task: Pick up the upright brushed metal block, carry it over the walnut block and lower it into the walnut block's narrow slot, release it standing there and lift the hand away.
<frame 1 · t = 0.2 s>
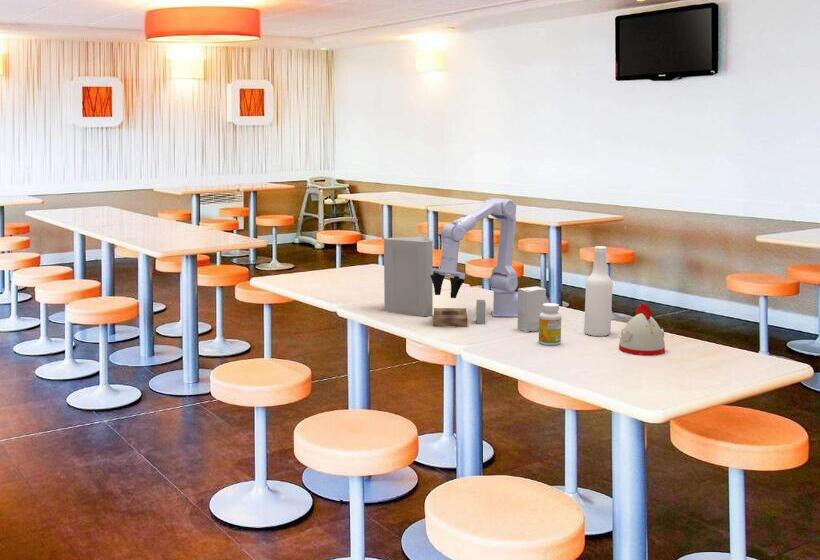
hand: (445, 296, 305), 11 cm above the table, tool pointing down, fingers open, 7 cm apart
brushed metal block: (480, 322, 312), on the table
alcohol: (597, 334, 295), on the table
kitchen timer: (641, 350, 273), on the table
supplement bottle: (549, 343, 282), on the table
skincare box: (531, 330, 301), on the table
tall grey carton: (414, 311, 332), on the table
well block: (450, 321, 314), on the table
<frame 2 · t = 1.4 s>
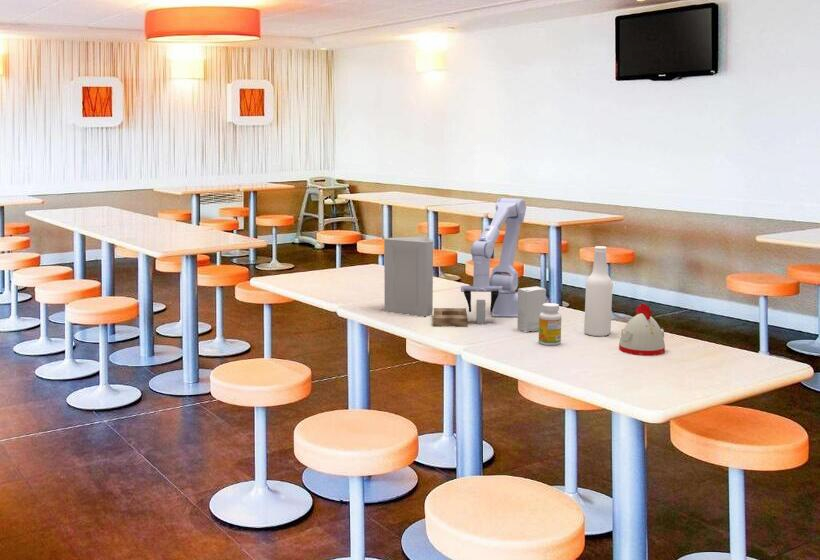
hand: (480, 311, 311), 4 cm above the table, tool pointing down, fingers open, 7 cm apart
nothing on the table moved.
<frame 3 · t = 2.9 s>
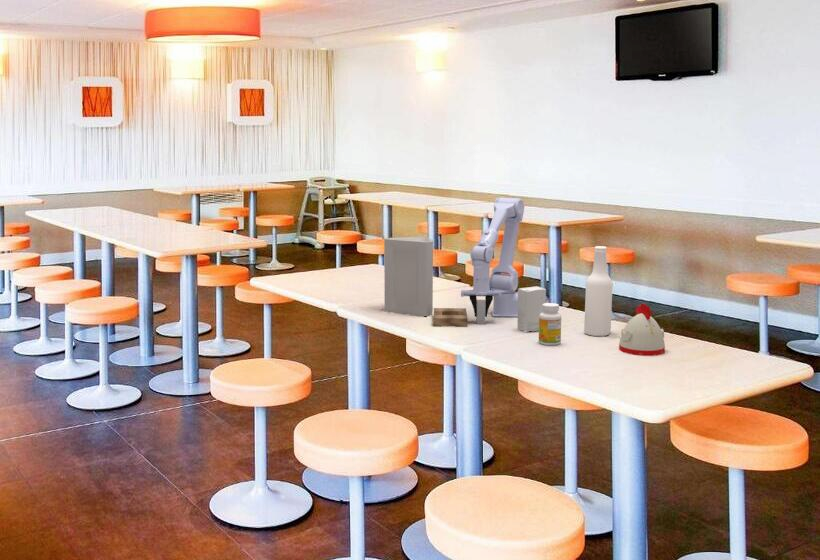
hand: (480, 316, 312), 2 cm above the table, tool pointing down, fingers closed on brushed metal block, 3 cm apart
brushed metal block: (480, 322, 312), on the table, touching gripper
everything else where it was.
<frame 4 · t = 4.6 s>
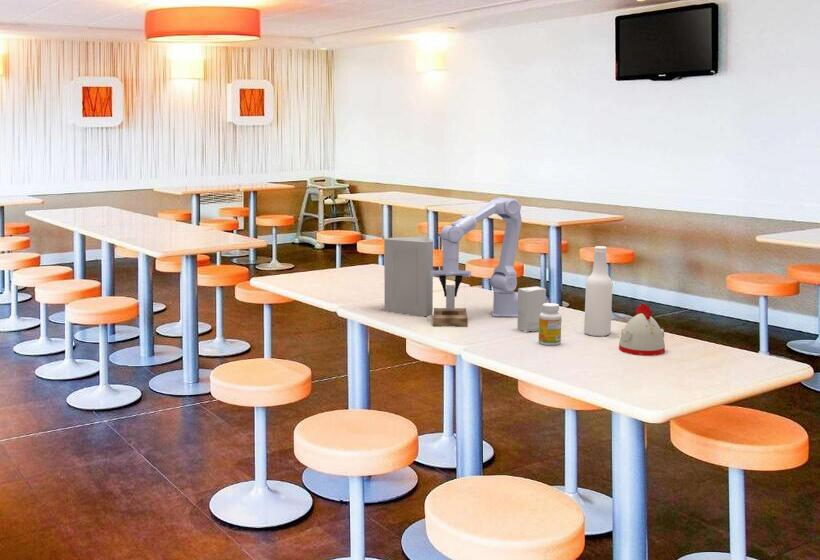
hand: (450, 296, 313), 9 cm above the table, tool pointing down, fingers closed on brushed metal block, 3 cm apart
brushed metal block: (450, 308, 314), point 5 cm above the table, touching gripper
everything else where it was.
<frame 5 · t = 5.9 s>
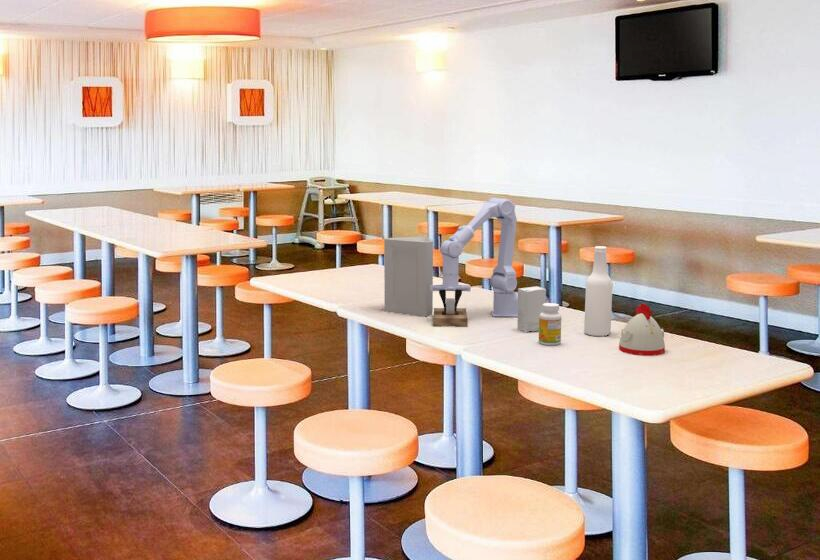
hand: (450, 310, 314), 4 cm above the table, tool pointing down, fingers closed on brushed metal block, 3 cm apart
brushed metal block: (450, 321, 314), resting in well block, touching gripper
everything else where it was.
when the fingers open (4 cm above the table, at t = 6.5 s): brushed metal block stays where it is, resting in well block.
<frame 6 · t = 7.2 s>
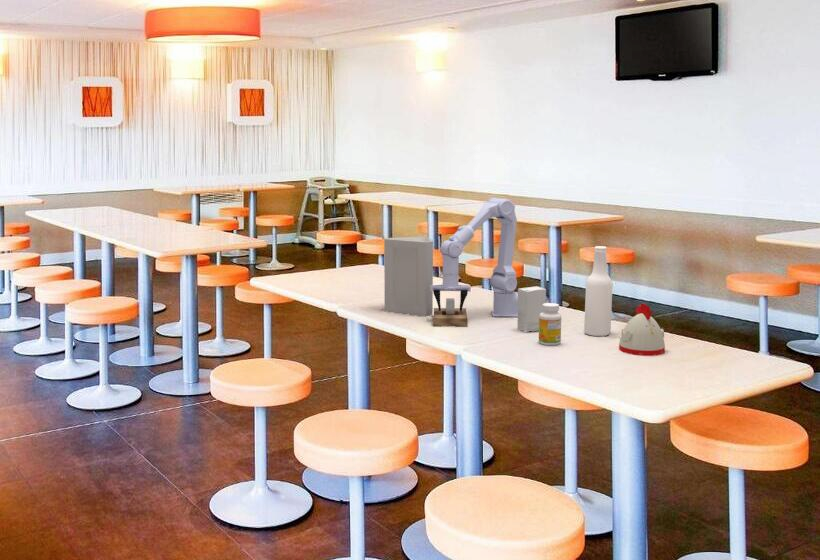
hand: (450, 310, 314), 4 cm above the table, tool pointing down, fingers open, 7 cm apart
brushed metal block: (450, 321, 314), resting in well block
everything else where it was.
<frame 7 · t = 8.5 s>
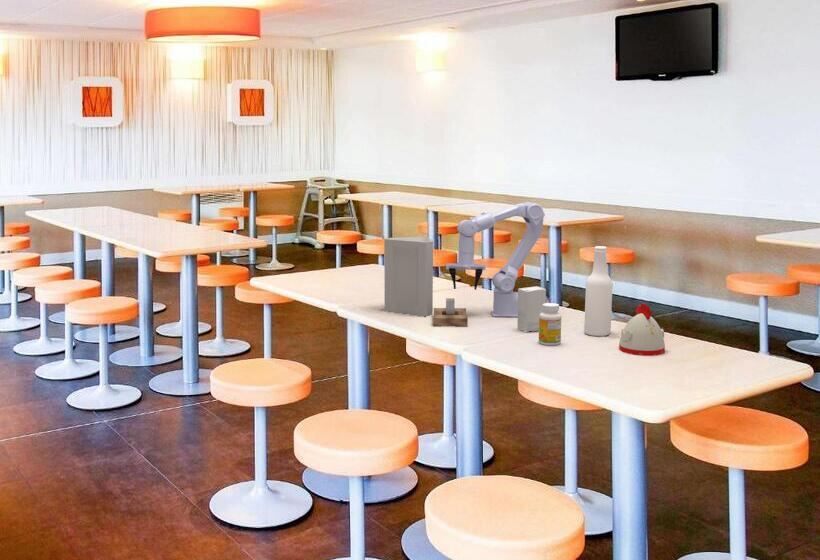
hand: (465, 288, 321), 10 cm above the table, tool pointing down, fingers open, 7 cm apart
nothing on the table moved.
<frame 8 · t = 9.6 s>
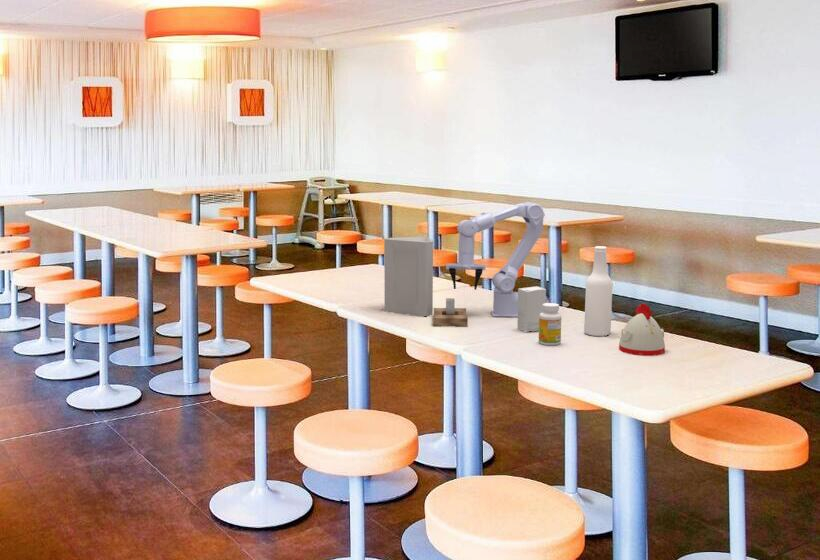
hand: (465, 288, 321), 10 cm above the table, tool pointing down, fingers open, 7 cm apart
nothing on the table moved.
at the end: brushed metal block 0.0 cm off-centre on the well block, point 0.0 cm above the well block's base; brushed metal block tilted 0°; the gripper is holding nothing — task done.
